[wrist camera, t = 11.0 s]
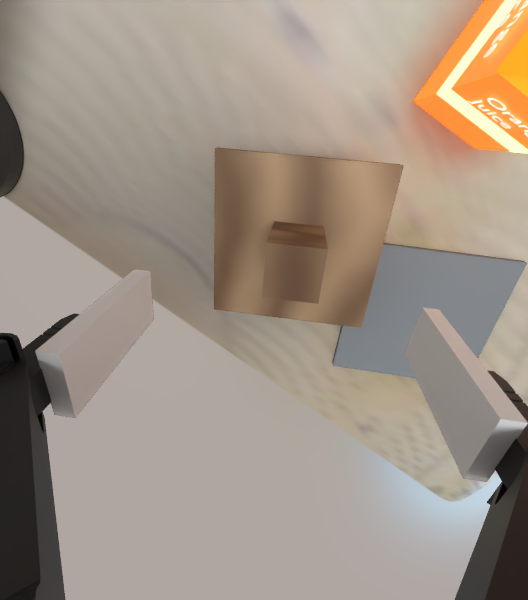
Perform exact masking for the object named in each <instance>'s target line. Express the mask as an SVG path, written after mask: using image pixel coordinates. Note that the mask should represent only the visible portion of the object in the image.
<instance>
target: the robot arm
mask: <svg viewBox="0 0 528 600" xmlns="http://www.w3.org/2000/svg"><path fill="white" fill-rule="evenodd" d="M22 162H23V150H22V142H21V137H20V133H19V129H18V126H17V123H16V120H15V118H14V116H13V113H12V111H11V109H10V107H9V105H8V103H7V102H6V100H5V98H4V97H3V95H2V94H1V92H0V197H2V196H4V195H5V194H7V193H8V192H9V191H10V190H11V189H12V188H13V187H14V186H15V184H16V182H17V181H18V178H19V176H20V173H21V169H22ZM153 319H154V315H153V302H152V289H151V276H150V271H145V270H138V269H134V270H133V271H132V272H131V273H129V274H128V275H127V276H126V277H125V278H123V279H122V280H121V281H120V282H119V283H117V284H116V285H115V286H114V287H112V288H111V289H110V290H109V291H108V292H106V294H104V295H103V296H101V297H100V298H99V299H98V300H97V301H95V302H94V303H93V304H92V305H91V306H90V307H88V308H87V309H86V310H84V311H83V312H82V313H81V314H72V315H70V316H67V317H65V318H63V319H61V320H59V321H58V322H57V323H55V324H54V325H53V326H52V327H51V328H49V329H48V330H47V331H45V332H44V333H43V335H40V336H39V337H38V338H36V339H35V340H34V341H32V342H31V343H30V344H28V345H27V346H26V347H25V348H23V349H22V347H21V344H20V341H19V338H18V337H17V336H16V335H14V334H11V333H0V600H65V593H64V584H63V576H62V567H61V558H60V550H59V540H58V532H57V523H56V515H55V505H54V496H53V489H52V479H51V470H50V462H49V453H48V445H47V435H46V426H45V418H44V415H43V412H42V411H43V410H44V409H45V408H46V407H47V406H48V405H49V404H50V403H51V405H52V408H53V412H54V415H59V416H65V417H72V418H76V417H77V416H78V415H79V413H80V412H81V411H82V409H83V408H84V407H85V406H86V404H87V403H88V402H89V401H90V399H91V398H92V397H93V396H94V394H95V393H96V392H97V390H98V389H99V388H100V387H101V385H102V384H103V383H104V381H105V380H106V379H107V378H108V377H109V375H110V374H111V373H112V371H113V370H114V369H115V368H116V366H117V365H118V364H119V363H120V361H121V360H122V359H123V358H124V356H125V355H126V354H127V352H128V351H129V350H130V349H131V347H132V346H133V345H134V344H135V342H136V341H137V340H138V339H139V337H140V336H141V335H142V333H143V332H144V331H145V330H146V328H147V327H148V326H149V325H150V323H151V322H152V321H153ZM405 356H406V358H407V360H408V362H409V364H410V367H411V369H412V371H413V373H414V375H415V377H416V379H417V381H418V384H419V386H420V388H421V390H422V392H423V394H424V396H425V398H426V401H427V403H428V405H429V407H430V409H431V411H432V413H433V415H434V418H435V420H436V422H437V424H438V426H439V428H440V430H441V432H442V435H443V437H444V439H445V441H446V443H447V445H448V447H449V449H450V452H451V454H452V456H453V458H454V460H455V462H456V464H457V466H458V469H459V471H460V473H461V475H462V477H463V478H465V479H471V480H478V481H484V482H487V481H488V480H489V478H490V477H491V475H492V474H493V473H494V471H495V470H496V471H497V473H498V475H499V477H500V478H501V480H502V482H501V484H500V485H499V487H498V488H497V489H496V491H495V492H494V494H493V495H492V496H491V498H490V499H489V500H488V501H487V503H489V504H490V505H491V506H490V508H489V511H488V514H487V516H486V519H485V522H484V524H483V527H482V529H481V532H480V535H479V537H478V540H477V543H476V545H475V548H474V551H473V553H472V556H471V558H470V561H469V563H468V566H467V569H466V572H465V574H464V577H463V579H462V582H461V584H460V587H459V590H458V592H457V595H456V598H455V600H528V406H527V405H526V404H525V403H523V400H522V399H521V398H520V397H519V396H518V394H515V391H514V390H513V388H512V387H511V386H510V385H509V384H508V382H507V381H506V380H504V379H503V378H502V377H500V376H499V375H498V374H496V373H495V372H494V371H487V370H486V369H485V367H484V366H483V365H482V363H481V362H480V361H479V360H478V358H477V357H476V356H475V355H474V353H473V352H472V351H471V349H470V348H469V347H468V346H467V344H466V343H465V342H464V341H463V339H462V338H461V337H460V335H459V334H458V333H457V332H456V330H455V329H454V328H453V327H452V325H451V324H450V323H449V321H448V320H447V319H446V318H445V316H444V315H443V314H442V312H441V311H440V310H439V309H432V308H425V307H422V310H421V312H420V315H419V318H418V320H417V323H416V326H415V328H414V331H413V333H412V336H411V339H410V341H409V344H408V346H407V349H406V352H405Z"/></svg>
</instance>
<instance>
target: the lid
mask: <svg viewBox="0 0 528 600" xmlns="http://www.w3.org/2000/svg"><path fill="white" fill-rule="evenodd" d="M402 170H403V165H400V164H389V163H378V162H367V161H357V160H346V159H335V158H324V157H313V156H302V155H291V154H280V153H269V152H259V151H248V150H237V149H226V148H215V253H214V309H216V310H224V311H232V312H240V313H248V314H256V315H264V316H272V317H279V318H287V319H295V320H303V321H311V322H319V323H327V324H334V325H342V326H350V327H358V328H362V324H363V320H364V317H365V313H366V309H367V305H368V301H369V297H370V293H371V290H372V286H373V282H374V278H375V274H376V270H377V266H378V263H379V259H380V255H381V251H382V247H383V243H384V240H385V236H386V232H387V228H388V224H389V220H390V216H391V213H392V209H393V205H394V201H395V197H396V193H397V189H398V186H399V182H400V178H401V174H402Z"/></svg>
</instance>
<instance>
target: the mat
mask: <svg viewBox="0 0 528 600" xmlns="http://www.w3.org/2000/svg"><path fill="white" fill-rule="evenodd" d="M526 264H527V263H526V262H524V261H519V260H511V259H503V258H496V257H488V256H480V255H472V254H464V253H457V252H449V251H441V250H433V249H425V248H418V247H410V246H402V245H394V244H387V243H383V247H382V251H381V255H380V259H379V263H378V266H377V270H376V274H375V278H374V282H373V286H372V290H371V293H370V297H369V301H368V305H367V309H366V313H365V317H364V320H363V324H362V328H358V327H350V326H342V327H341V331H340V335H339V339H338V343H337V347H336V351H335V355H334V359H333V366H339V367H346V368H353V369H359V370H366V371H372V372H379V373H385V374H392V375H399V376H405V377H412V378H416V377H415V375H414V373H413V371H412V369H411V367H410V364H409V362H408V360H407V358H406V356H405V352H406V349H407V346H408V344H409V341H410V339H411V336H412V333H413V331H414V328H415V326H416V323H417V320H418V318H419V315H420V312H421V310H422V307H425V308H432V309H439V310H440V311H441V312H442V314H443V315H444V316H445V318H446V319H447V320H448V321H449V323H450V324H451V325H452V327H453V328H454V329H455V330H456V332H457V333H458V334H459V335H460V337H461V338H462V339H463V341H464V342H465V343H466V344H467V346H468V347H469V348H470V349H471V351H472V352H473V353H474V355H475V356H476V357H477V358H478V357H479V355H480V353H481V351H482V350H483V348H484V346H485V344H486V342H487V340H488V338H489V336H490V334H491V332H492V330H493V328H494V326H495V324H496V322H497V320H498V318H499V316H500V315H501V313H502V311H503V309H504V307H505V305H506V303H507V301H508V299H509V297H510V295H511V293H512V291H513V289H514V287H515V285H516V283H517V281H518V279H519V278H520V276H521V274H522V272H523V270H524V268H525V266H526Z"/></svg>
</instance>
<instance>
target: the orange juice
mask: <svg viewBox="0 0 528 600" xmlns="http://www.w3.org/2000/svg"><path fill="white" fill-rule="evenodd" d="M413 102H414V103H416V104H417V105H418V106H419V107H421V108H422V109H423V110H425V111H426V112H427V113H429V114H430V115H431V116H433V117H434V118H435V119H437V120H438V121H439V122H440V123H442V124H443V125H444V126H446V127H447V128H448V129H450V130H451V131H452V132H454V133H455V134H456V135H458V136H459V137H460V138H462V139H463V140H464V141H465V142H467V143H468V144H469V145H471V146H472V147H473V148H475V149H485V150H499V151H510V152H515V153H528V0H485V1H484V2H483V3H482V5H481V6H480V8H479V9H478V10H477V12H476V13H475V15H474V16H473V17H472V19H471V20H470V22H469V23H468V24H467V26H466V27H465V29H464V30H463V31H462V33H461V34H460V36H459V37H458V39H457V40H456V41H455V43H454V44H453V46H452V47H451V48H450V50H449V51H448V53H447V54H446V55H445V57H444V58H443V60H442V61H441V62H440V64H439V65H438V67H437V68H436V69H435V71H434V72H433V74H432V75H431V76H430V78H429V79H428V81H427V82H426V84H425V85H424V86H423V88H422V89H421V91H420V92H419V93H418V95H417V96H416V98H415V99H414V100H413Z"/></svg>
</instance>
